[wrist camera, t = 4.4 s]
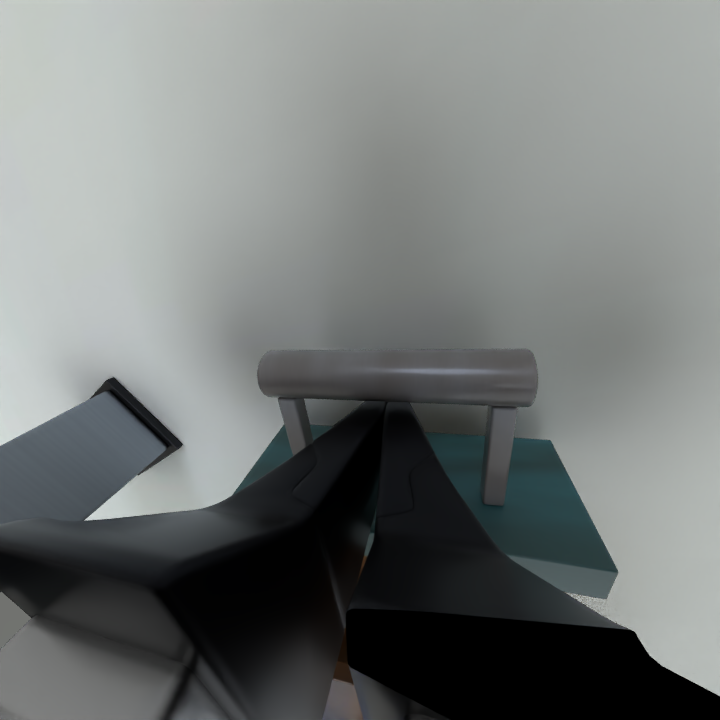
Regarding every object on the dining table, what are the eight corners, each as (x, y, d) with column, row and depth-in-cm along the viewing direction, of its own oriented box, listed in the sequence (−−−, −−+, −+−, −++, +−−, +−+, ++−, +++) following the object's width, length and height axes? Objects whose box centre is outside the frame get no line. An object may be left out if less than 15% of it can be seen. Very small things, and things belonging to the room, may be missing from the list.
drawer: (258, 322, 11) (163, 379, 7) (578, 311, 9) (701, 392, 5) (324, 572, 18) (293, 670, 14) (513, 610, 16) (540, 745, 12)
